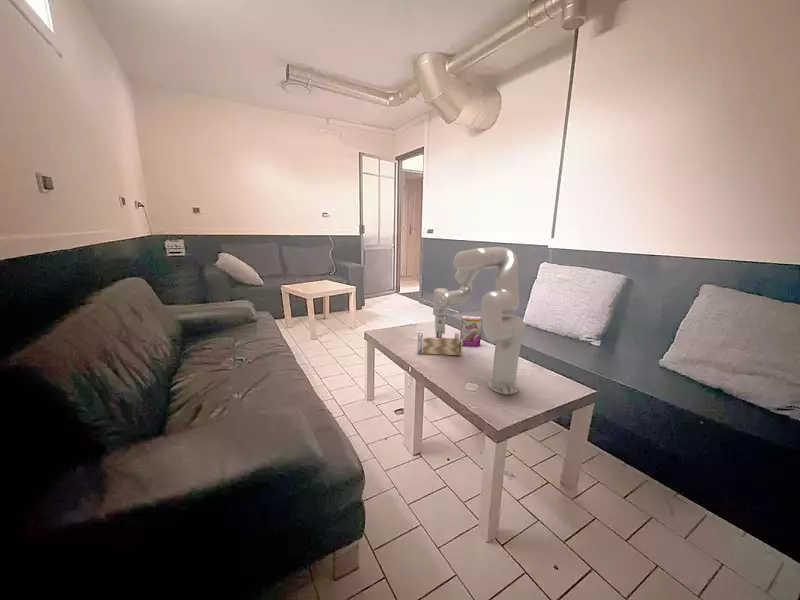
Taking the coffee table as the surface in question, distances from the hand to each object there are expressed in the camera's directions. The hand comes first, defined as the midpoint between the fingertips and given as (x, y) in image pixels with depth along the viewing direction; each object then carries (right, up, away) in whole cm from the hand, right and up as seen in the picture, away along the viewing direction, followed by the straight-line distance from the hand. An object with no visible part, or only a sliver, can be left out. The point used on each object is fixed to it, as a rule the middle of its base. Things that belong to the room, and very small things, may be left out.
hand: (438, 344), depth 170 cm
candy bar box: (+19, -2, +8) cm, 20 cm away
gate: (+1, -4, -6) cm, 7 cm away
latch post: (+9, -4, -4) cm, 10 cm away
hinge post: (-11, -4, -5) cm, 12 cm away
